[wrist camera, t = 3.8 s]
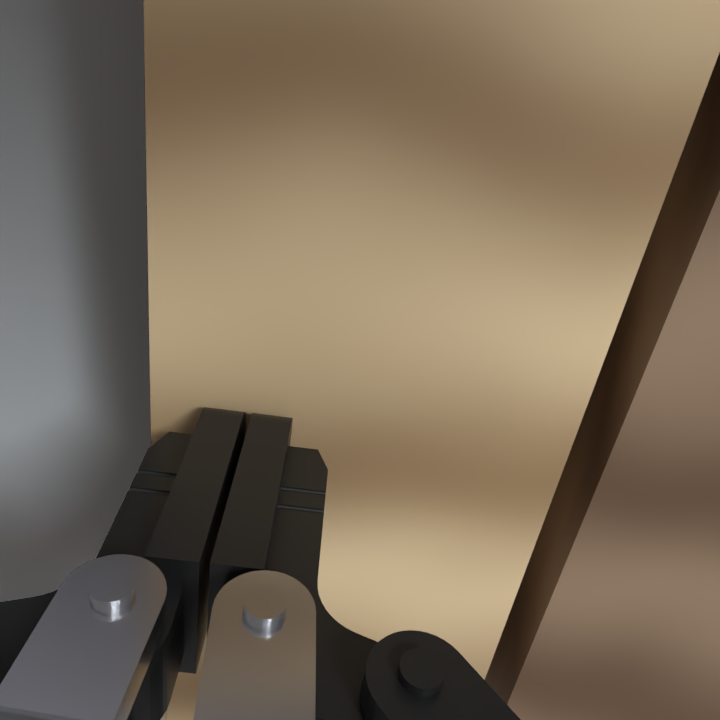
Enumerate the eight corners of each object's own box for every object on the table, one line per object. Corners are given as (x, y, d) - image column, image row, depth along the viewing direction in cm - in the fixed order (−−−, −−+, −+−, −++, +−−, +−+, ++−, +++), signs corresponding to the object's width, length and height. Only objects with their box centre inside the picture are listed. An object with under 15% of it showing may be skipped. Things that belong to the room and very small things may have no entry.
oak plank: (162, -276, 9) (138, -340, 7) (699, -159, 10) (806, -182, 8) (166, 672, 19) (156, 759, 17) (440, 661, 21) (461, 740, 18)
